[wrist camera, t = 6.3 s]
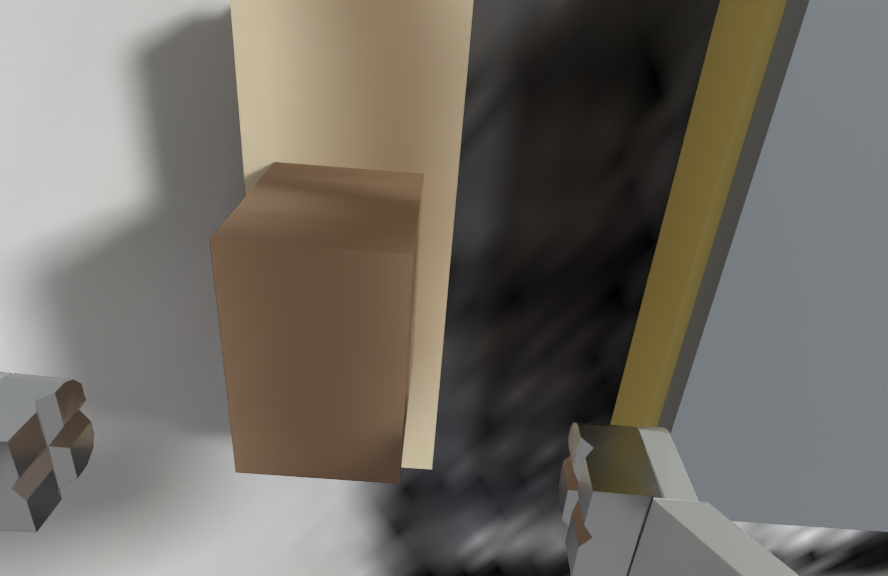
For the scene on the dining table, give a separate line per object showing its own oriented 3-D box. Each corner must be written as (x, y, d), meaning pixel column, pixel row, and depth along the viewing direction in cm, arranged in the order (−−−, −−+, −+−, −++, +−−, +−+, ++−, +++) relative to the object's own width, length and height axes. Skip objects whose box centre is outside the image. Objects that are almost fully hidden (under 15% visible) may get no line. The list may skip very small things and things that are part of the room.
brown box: (284, 355, 16) (235, 472, 12) (274, 161, 13) (209, 238, 10) (412, 364, 16) (399, 483, 12) (424, 173, 14) (412, 254, 10)
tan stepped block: (291, 390, 20) (266, 457, 18) (270, -29, 14) (228, -23, 12) (435, 401, 20) (431, 469, 18) (471, -13, 15) (473, -3, 12)
